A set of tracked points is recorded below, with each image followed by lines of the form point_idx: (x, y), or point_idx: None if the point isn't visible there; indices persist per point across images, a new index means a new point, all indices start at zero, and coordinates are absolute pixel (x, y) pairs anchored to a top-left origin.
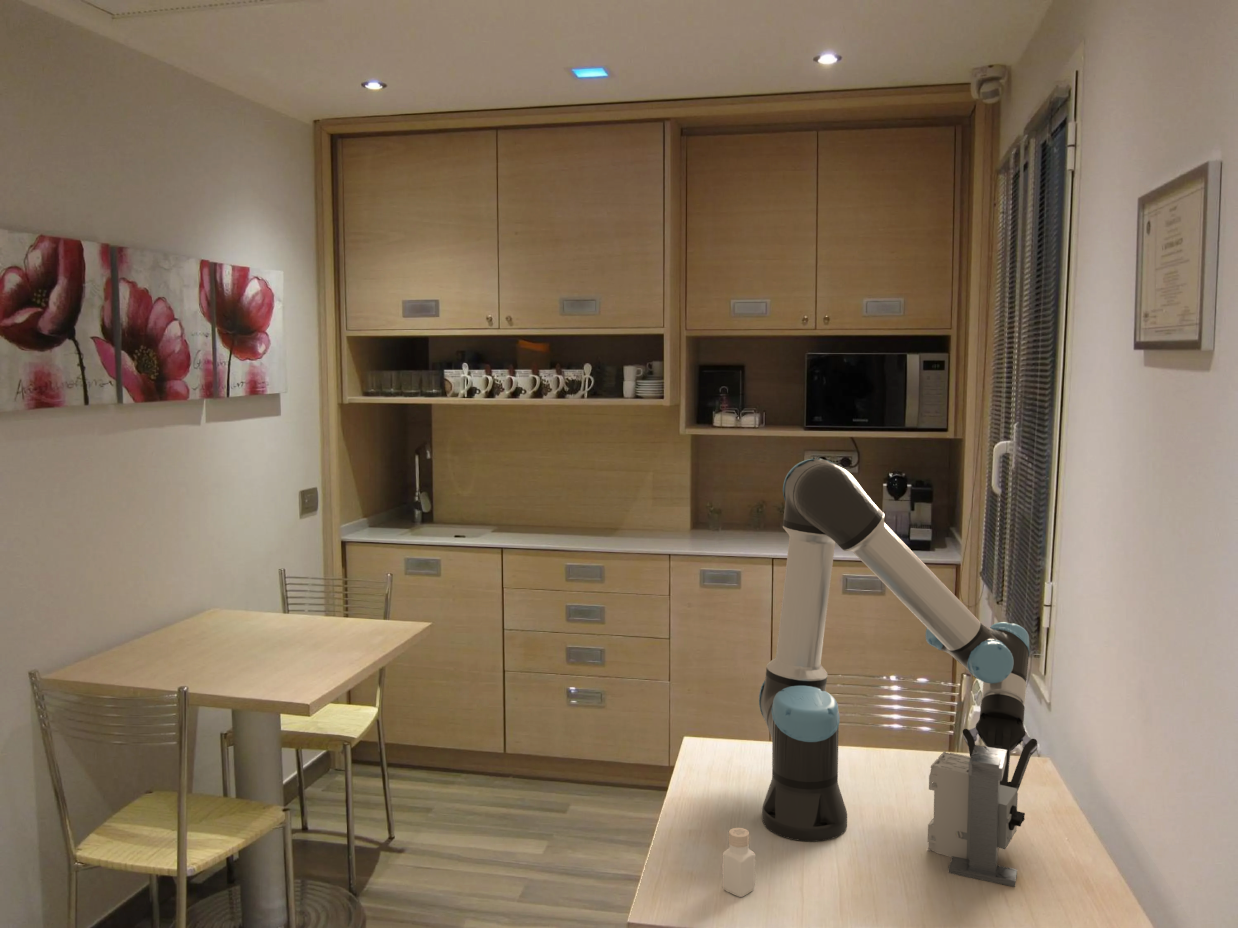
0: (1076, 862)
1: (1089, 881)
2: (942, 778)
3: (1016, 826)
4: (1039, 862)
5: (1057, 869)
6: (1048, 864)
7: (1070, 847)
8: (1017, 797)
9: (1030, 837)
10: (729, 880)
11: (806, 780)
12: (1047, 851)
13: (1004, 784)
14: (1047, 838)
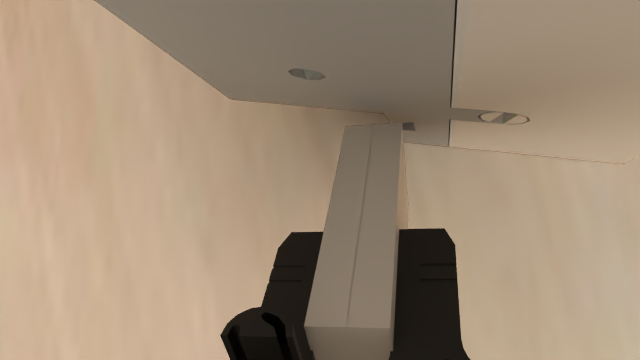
0: (39, 163)
1: (5, 25)
2: None
3: (219, 89)
4: (173, 87)
5: (107, 62)
6: (139, 88)
7: (54, 300)
8: (107, 6)
9: (216, 331)
10: None
11: None
12: (143, 212)
13: (242, 326)
14: (143, 354)
